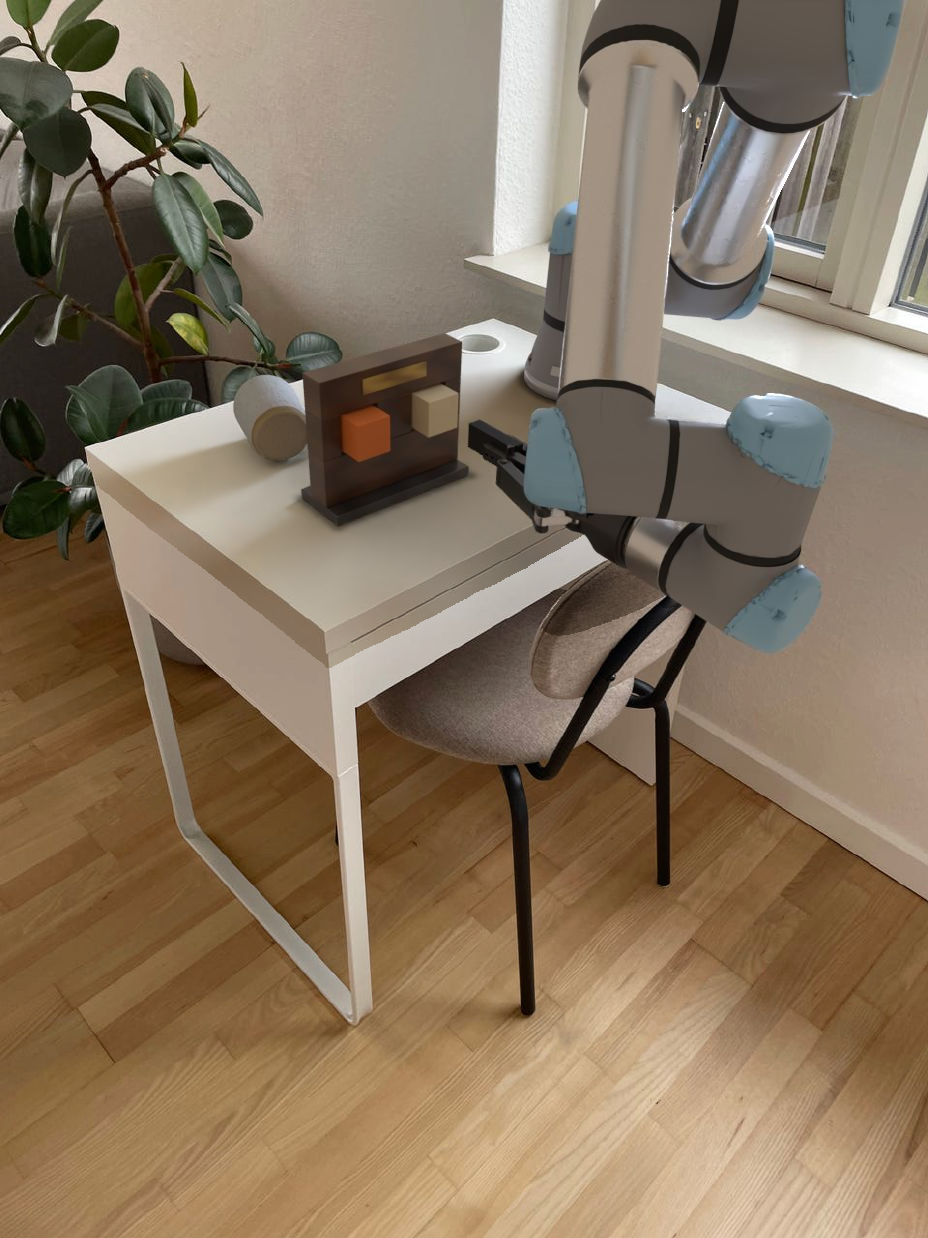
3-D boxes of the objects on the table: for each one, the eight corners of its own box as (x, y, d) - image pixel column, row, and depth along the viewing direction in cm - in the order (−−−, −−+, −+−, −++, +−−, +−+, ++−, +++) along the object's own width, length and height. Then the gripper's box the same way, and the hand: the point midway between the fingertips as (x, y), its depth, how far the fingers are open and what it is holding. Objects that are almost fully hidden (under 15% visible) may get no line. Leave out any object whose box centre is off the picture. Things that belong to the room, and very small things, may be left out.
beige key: (434, 414, 103) (435, 379, 101) (457, 427, 101) (458, 393, 98) (405, 423, 101) (405, 389, 98) (428, 437, 99) (429, 402, 96)
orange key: (367, 436, 98) (366, 401, 96) (390, 451, 96) (390, 415, 94) (336, 446, 96) (334, 411, 94) (358, 462, 94) (357, 426, 91)
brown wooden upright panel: (430, 451, 111) (433, 326, 101) (468, 475, 107) (474, 347, 97) (301, 498, 101) (290, 365, 92) (337, 526, 97) (330, 390, 88)
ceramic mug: (254, 470, 106) (248, 407, 101) (235, 438, 111) (229, 377, 107) (342, 455, 110) (341, 394, 105) (320, 425, 115) (318, 365, 110)
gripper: (592, 595, 81) (423, 484, 95) (687, 544, 88) (517, 447, 101) (604, 522, 76) (424, 416, 90) (703, 474, 83) (522, 383, 97)
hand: (473, 433), depth 96 cm, fingers closed
